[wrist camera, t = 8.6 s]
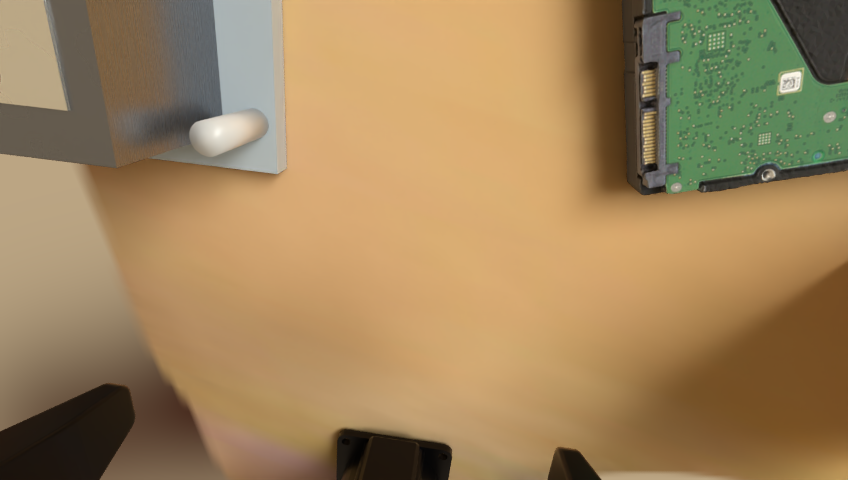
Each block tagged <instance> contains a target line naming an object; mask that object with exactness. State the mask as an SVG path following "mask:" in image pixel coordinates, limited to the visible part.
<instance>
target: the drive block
mask: <svg viewBox="0 0 848 480" xmlns="http://www.w3.org/2000/svg"><path fill="white" fill-rule="evenodd" d="M221 115H223V113H222V101H221V90H220V78H219V66H218V54H217V42H216V30H215V18H214V6H213V0H0V154H9V155H17V156H24V157H32V158H40V159H48V160H56V161H64V162H72V163H80V164H88V165H96V166H104V167H112V168H118V167H122V166H125V165H128V164H131V163H134V162H137V161H140V160H143V159H146V158H149V157H152V156H155V155H159V154H162V153H165V152H168V151H171V150H174V149H177V148H180V147H183V146H186V145H189V144H191V142H190V138H189V132H190V129H191V127H192V125H193V124H194V123H196V122H198V121H201V120H205V119H209V118H213V117H217V116H221Z"/></svg>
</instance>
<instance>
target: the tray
mask: <svg viewBox="0 0 848 480" xmlns="http://www.w3.org/2000/svg"><path fill="white" fill-rule="evenodd" d="M213 6H214V18H215V30H216V42H217V54H218V66H219V78H220V90H221V101H222V113H223V115H221V116H217V117H213V118H209V119H205V120H201V121H198V122H196V123H194V124H193V125H192V127H191V129H190V132H189V138H190V142H191V144H189V145H186V146H183V147H180V148H177V149H174V150H171V151H168V152H165V153H162V154H159V155H155V156H152V157H149V158H151V159H159V160H168V161H176V162H184V163H192V164H200V165H208V166H216V167H224V168H232V169H241V170H249V171H257V172H265V173H273V174H279V173H280V172H282V171H283V170H285V169H287V160H286V125H285V90H284V54H283V19H282V0H213Z"/></svg>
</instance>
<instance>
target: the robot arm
mask: <svg viewBox="0 0 848 480" xmlns="http://www.w3.org/2000/svg"><path fill="white" fill-rule="evenodd" d="M134 420H135V410H134V406H133V401H132V397H131V393H130V389H129V388H128V387H127V386H125V385H120V384H113V383H107V384H103V385H101V386H99V387H97V388H95V389H92V390H91V391H88V392H86V393H84V394H81V395H79V396H77V397H75V398H73V399H70V400H68V401H66V402H64V403H62V404H60V405H57V406H55V407H53V408H51V409H49V410H46V411H44V412H42V413H40V414H38V415H35V416H33V417H31V418H29V419H27V420H24V421H22V422H20V423H18V424H16V425H13V426H11V427H9V428H7V429H5V430H2V431H0V480H100V478H101V476H102V475H103V473H104V471H105V470H106V468H107V467H108V465H109V463H110V462H111V460H112V458H113V457H114V455H115V454H116V452H117V450H118V449H119V447H120V446H121V444H122V442H123V441H124V439H125V437H126V436H127V434H128V432H129V431H130V429H131V428H132V426H133V423H134ZM345 438H347V439H345ZM451 460H452V449H451V448H450V447H449V446H448V445H444V444H438V443H431V442H425V441H418V440H412V439H405V438H399V437H393V436H386V435H380V434H373V433H367V432H360V431H354V430H342V431H341V432H340V434H339V437H338V440H337V480H448V478H449V472H450V466H451ZM548 480H601V478H600V477H599V476H598V475H597V473H596V472H595V471H594V469H593V468H592V467H591V466H590V464H589V463H588V462H587V460H586V459H585V458H584V457H583V455H582V454H581V453H580V452H579V451H578V450H576V449H571V448H564V447H558V448H557V449H556V450H555V453H554V457H553V460H552V464H551V468H550V471H549V475H548Z"/></svg>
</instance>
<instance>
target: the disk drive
mask: <svg viewBox="0 0 848 480" xmlns="http://www.w3.org/2000/svg"><path fill="white" fill-rule="evenodd" d="M622 19H623V42H624V59H625V71H624V88H625V119H626V143H627V181H628V183H629V184H630V185H631V186H633V187H634V188H635V189H636V190H637V191H638V192H639V193H640V194H642V195H650V194H656V193H661V192H666V193H667V194H668V193H669V194H675V193H681V192H686V191H692V190H698V191H700V192H713V191H721V190H726V189H732V188H738V187H741V186H746V185H751V184H758V183H764V182H767V183H768V182H770V181H779V180H786V179H792V178H798V177H809V176H813V175H821V174H825V173H835V172H840V171H846V170H848V0H622Z"/></svg>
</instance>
